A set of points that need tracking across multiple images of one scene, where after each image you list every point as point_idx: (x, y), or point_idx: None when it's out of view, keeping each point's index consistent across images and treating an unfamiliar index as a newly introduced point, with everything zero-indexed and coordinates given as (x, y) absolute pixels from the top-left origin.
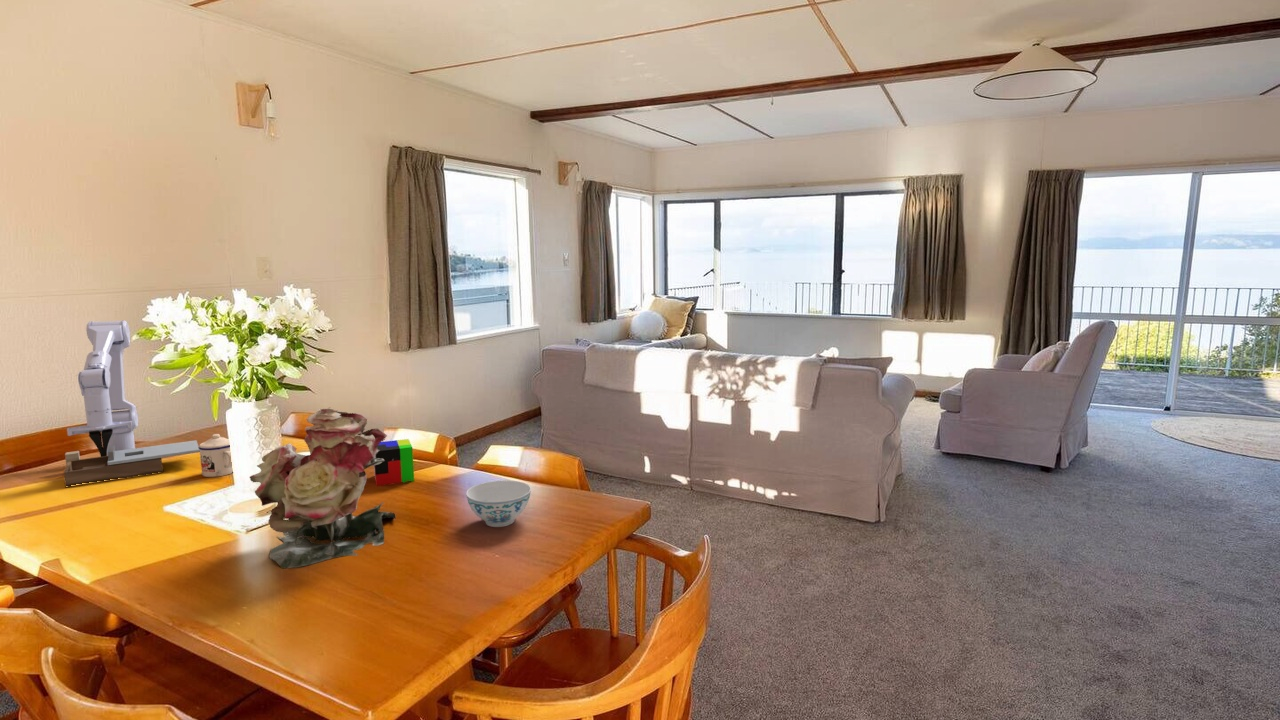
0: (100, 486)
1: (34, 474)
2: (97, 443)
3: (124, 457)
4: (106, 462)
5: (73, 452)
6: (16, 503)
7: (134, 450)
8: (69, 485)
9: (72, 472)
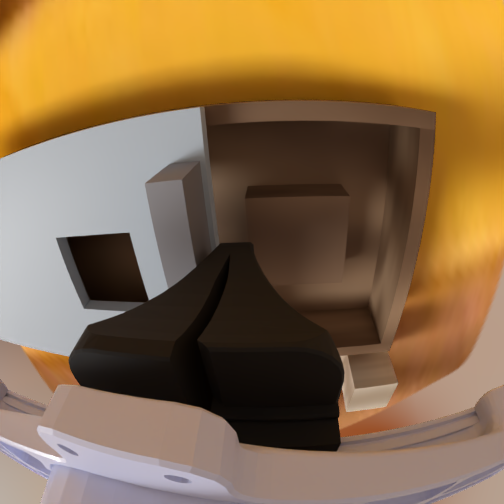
0: (253, 21)
1: (434, 358)
2: (256, 294)
3: (122, 204)
4: None
5: (366, 400)
6: (500, 16)
7: None
8: (386, 104)
9: (396, 107)
